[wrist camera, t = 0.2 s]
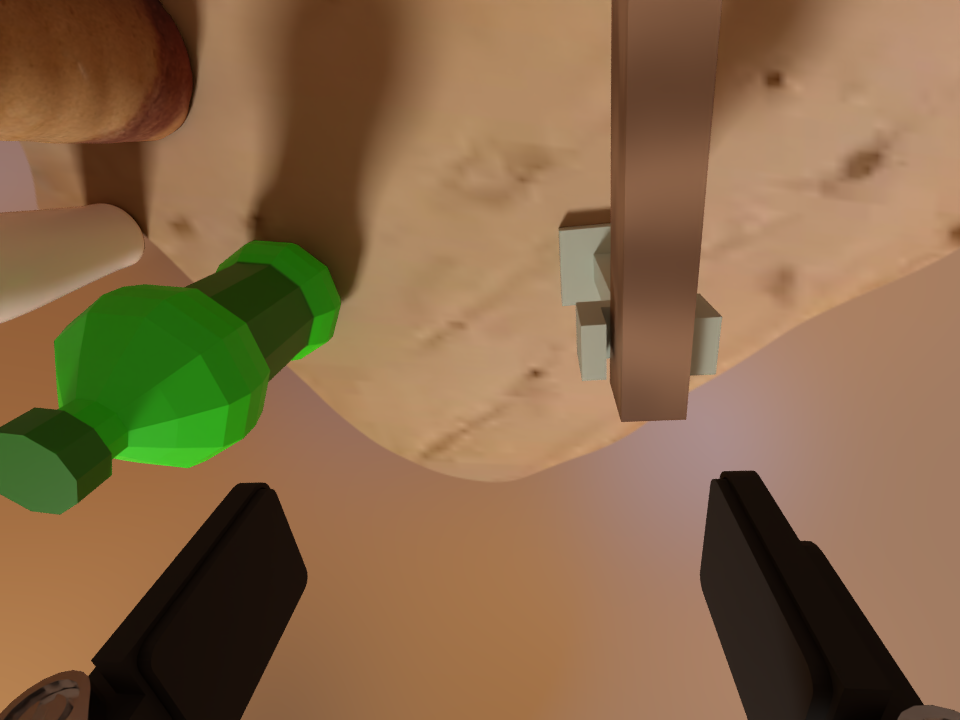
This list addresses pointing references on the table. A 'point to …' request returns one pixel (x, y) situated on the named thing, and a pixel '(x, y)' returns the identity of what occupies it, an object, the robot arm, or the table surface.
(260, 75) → the table surface
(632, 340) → the walnut rail
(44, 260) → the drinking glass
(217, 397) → the plastic bottle
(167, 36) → the wafer roll
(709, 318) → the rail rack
